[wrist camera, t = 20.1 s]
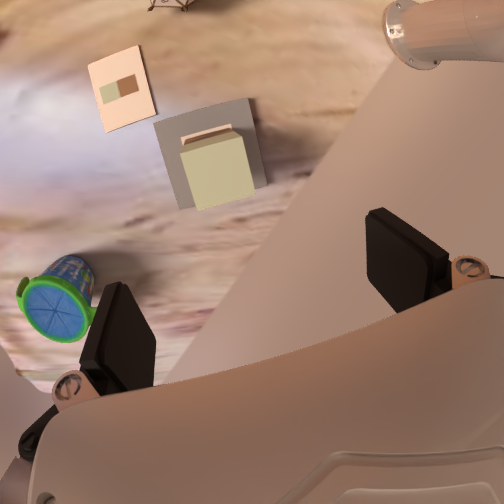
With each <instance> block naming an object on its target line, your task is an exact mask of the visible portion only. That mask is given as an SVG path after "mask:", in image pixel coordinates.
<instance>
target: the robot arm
mask: <svg viewBox="0 0 504 504" xmlns="http://www.w3.org/2000/svg"><path fill="white" fill-rule="evenodd" d="M383 27H384V32H385V35H386V38H387V41H388V43H389V45H390V47H391V48H392V50H393V51H394V53H395V54H396V55H397V56H398V57H399V59H401V60H402V61H403V62H404V63H405V64H407V65H408V66H410V67H412V68H415V69H418V70H430V69H433V68H435V67H436V66H437V65H439V64H440V62H441V60H474V61H493V62H494V61H495V62H504V0H433V1H429V2H425V3H421V4H419V3H417V2H415V1H412V0H397V1H395V2H393V3H391V4H390V5H389V6H388V7H387V8H386V10H385V13H384V18H383ZM365 224H366V251H367V277H368V279H369V281H370V282H371V284H372V285H373V286H374V287H375V288H376V289H377V290H378V292H379V293H380V294H381V295H382V296H383V297H384V299H385V300H386V301H387V302H388V303H389V305H391V307H392V308H393V309H394V310H395V312H396V313H397V314H395V315H392V316H390V317H387V318H385V319H382V320H380V321H377V322H375V323H372V324H370V325H367V326H365V327H362V328H359V329H357V330H354V331H351V332H349V333H346V334H343V335H341V336H338V337H335V338H332V339H329V340H327V341H324V342H321V343H318V344H315V345H312V346H309V347H306V348H303V349H300V350H296V351H293V352H290V353H287V354H284V355H280V356H277V357H274V358H270V359H267V360H263V361H260V362H256V363H253V364H249V365H245V366H241V367H238V368H234V369H230V370H226V371H222V372H218V373H214V374H209V375H205V376H201V377H197V378H192V379H188V380H183V381H178V382H174V383H168V384H163V385H158V386H153V381H154V366H155V353H156V339H155V336H154V334H153V332H152V330H151V329H150V327H149V325H148V323H147V322H146V320H145V318H144V316H143V314H142V312H141V311H140V309H139V307H138V305H137V303H136V301H135V299H134V297H133V295H132V293H131V291H130V289H129V288H128V286H127V285H126V284H122V283H121V282H116V283H113V284H109V285H106V287H105V289H104V291H103V294H102V297H101V299H100V302H99V305H98V307H97V310H96V313H95V315H94V318H93V321H92V324H91V327H90V330H89V333H88V336H87V339H86V342H85V345H84V348H83V351H82V354H81V357H80V361H79V363H80V364H81V367H80V370H79V371H78V370H72V371H69V372H66V373H65V374H63V375H62V376H61V377H60V378H59V379H58V380H57V381H56V382H55V384H54V386H53V389H52V398H53V401H54V403H55V404H54V405H53V406H52V407H51V408H50V409H49V410H48V411H46V412H45V413H44V414H43V415H42V416H41V417H40V418H39V419H38V420H37V421H36V422H34V424H32V425H31V426H30V427H29V428H28V429H27V430H26V431H25V432H24V433H23V434H22V436H21V438H20V440H19V444H18V450H19V454H20V458H17V457H16V456H15V458H14V459H13V461H12V463H11V464H10V466H9V467H8V469H7V471H6V472H5V474H4V476H3V477H2V479H1V480H0V504H504V277H500V276H493V275H490V273H489V268H488V266H487V265H486V264H485V262H483V261H482V260H481V259H479V258H476V257H473V256H459V257H457V258H455V259H454V260H453V261H452V262H451V261H450V260H448V259H449V253H448V252H446V251H445V250H444V249H442V248H441V247H440V246H438V245H437V244H436V243H434V242H433V241H431V240H430V239H429V238H428V237H426V236H425V235H423V234H422V233H421V232H419V231H418V230H416V229H415V228H413V227H412V226H411V225H409V224H408V223H406V222H405V221H403V220H402V219H400V218H399V217H397V216H396V215H394V214H393V213H391V212H390V211H388V210H387V209H385V208H383V207H382V208H378V209H374V210H371V211H369V213H368V215H367V216H366V218H365Z"/></svg>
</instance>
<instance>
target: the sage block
mask: <svg viewBox="0 0 504 504" xmlns="http://www.w3.org/2000/svg"><path fill="white" fill-rule="evenodd" d="M180 156H181V159H182V163H183V166H184V169H185V173H186V176H187V179H188V182H189V186H190V189H191V192H192V195H193V199H194V202H195V205H196V208H197V211H200V210H203V209H207V208H210V207H213V206H217V205H220V204H224V203H227V202H231V201H234V200H238V199H242V198H245V197H249V196H253V195H256V193H255V189H254V184H253V180H252V176H251V172H250V167H249V163H248V159H247V155H246V151H245V147H244V142H243V138H242V136H240V135H239V134H237V133H236V132H234V131H233V132H229V133H225V134H221V135H217V136H214V137H210V138H207V139H203V140H199V141H196V142H193V143H189V144H186V145H183V146H182V149H181V152H180Z"/></svg>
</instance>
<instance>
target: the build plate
mask: <svg viewBox="0 0 504 504" xmlns="http://www.w3.org/2000/svg"><path fill="white" fill-rule="evenodd" d="M153 124H154V128H155V131H156V135H157V138H158V142H159V145H160V148H161V152H162V155H163V158H164V162H165V165H166V168H167V171H168V175H169V178H170V181H171V184H172V187H173V190H174V194H175V197H176V200H177V203H178V206H179V209H180V210H182V209H185V208H188V207H192V206H195V202H194V199H193V195H192V192H191V189H190V186H189V182H188V179H187V176H186V173H185V169H184V166H183V163H182V159H181V156H180V152H181V149H182V146H183V145H184V142H185V139H188V138H192V137H195V136H199V135H203V134H206V133H210V132H214V131H218V130H222V129H226V128H230V129H231V130H233V131H234V132H236V133H237V134H239V135H240V136H242V138H243V142H244V147H245V151H246V155H247V159H248V163H249V167H250V172H251V176H252V180H253V184H254V189H256V188H260V187H264V186H267V181H266V176H265V172H264V167H263V162H262V158H261V153H260V149H259V144H258V140H257V135H256V131H255V127H254V122H253V118H252V114H251V109H250V105H249V101H248V98H243V99H239V100H235V101H230V102H226V103H222V104H218V105H214V106H210V107H206V108H202V109H199V110H195V111H192V112H188V113H185V114H181V115H178V116H175V117H171V118H168V119H165V120H162V121H159V122H156V123H153Z"/></svg>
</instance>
